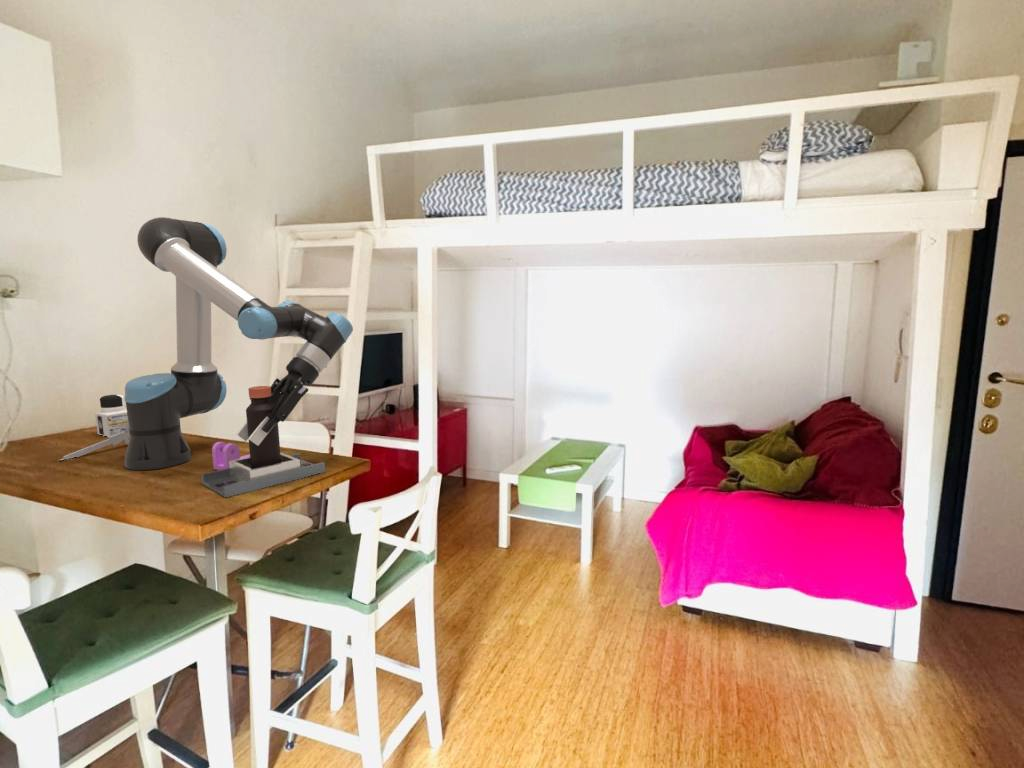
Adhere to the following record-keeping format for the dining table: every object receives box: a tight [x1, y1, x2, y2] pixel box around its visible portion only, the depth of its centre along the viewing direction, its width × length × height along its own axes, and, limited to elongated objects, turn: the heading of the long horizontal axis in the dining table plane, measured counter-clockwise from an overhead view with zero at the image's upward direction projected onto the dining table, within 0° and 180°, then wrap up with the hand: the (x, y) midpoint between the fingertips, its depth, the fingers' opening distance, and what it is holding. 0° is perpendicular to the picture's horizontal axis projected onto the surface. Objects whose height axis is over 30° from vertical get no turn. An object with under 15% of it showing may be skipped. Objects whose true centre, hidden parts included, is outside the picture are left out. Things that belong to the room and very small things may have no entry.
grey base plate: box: [201, 451, 326, 498], centre depth 137 cm, size 14×24×4 cm, turn 137°
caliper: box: [59, 426, 130, 461], centre depth 162 cm, size 20×1×6 cm, turn 154°
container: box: [94, 394, 129, 438], centre depth 184 cm, size 8×8×13 cm
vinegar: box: [245, 385, 281, 469], centre depth 136 cm, size 7×7×20 cm
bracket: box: [211, 441, 250, 471], centre depth 149 cm, size 13×6×7 cm, turn 153°
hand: (247, 439), depth 133 cm, fingers closed on vinegar, 6 cm apart
